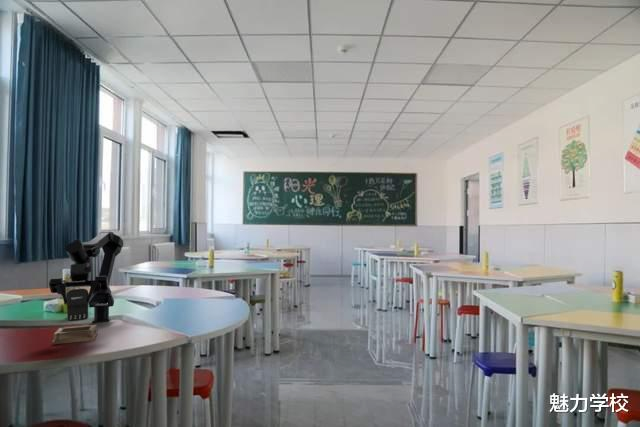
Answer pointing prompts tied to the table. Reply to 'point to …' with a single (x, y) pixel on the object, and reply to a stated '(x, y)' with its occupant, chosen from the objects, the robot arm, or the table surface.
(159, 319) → the table surface
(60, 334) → the wooden tray
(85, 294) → the battery
